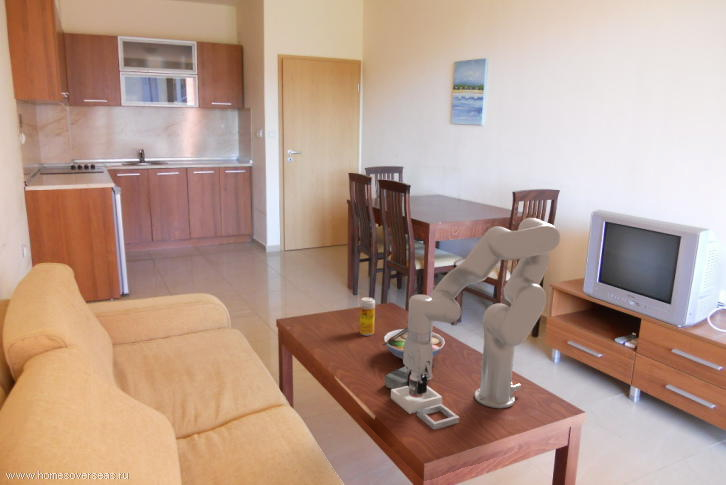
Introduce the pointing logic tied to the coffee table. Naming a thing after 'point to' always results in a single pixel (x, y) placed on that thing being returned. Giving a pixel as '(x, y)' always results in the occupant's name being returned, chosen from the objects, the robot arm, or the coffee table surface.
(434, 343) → the ramen bowl
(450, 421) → the square open frame
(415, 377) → the pill bottle
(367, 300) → the glass of beer
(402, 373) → the stone block
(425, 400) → the tray
